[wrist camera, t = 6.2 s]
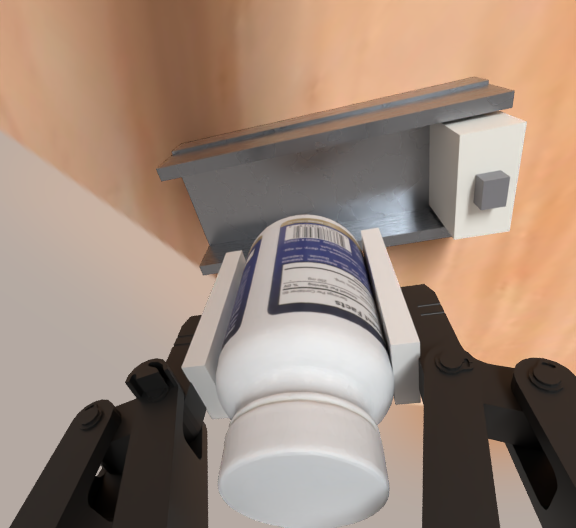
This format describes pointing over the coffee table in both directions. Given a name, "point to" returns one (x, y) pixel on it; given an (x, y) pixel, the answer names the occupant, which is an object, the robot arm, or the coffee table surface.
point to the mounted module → (475, 172)
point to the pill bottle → (304, 381)
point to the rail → (327, 168)
